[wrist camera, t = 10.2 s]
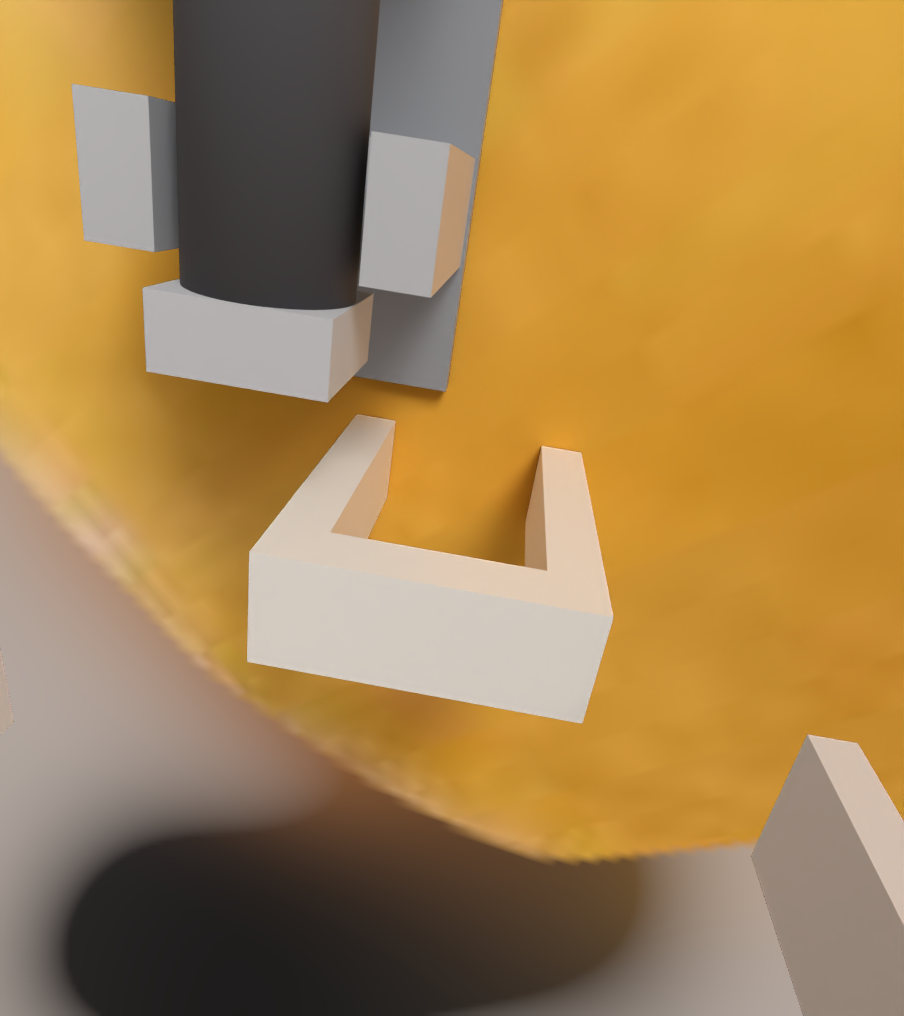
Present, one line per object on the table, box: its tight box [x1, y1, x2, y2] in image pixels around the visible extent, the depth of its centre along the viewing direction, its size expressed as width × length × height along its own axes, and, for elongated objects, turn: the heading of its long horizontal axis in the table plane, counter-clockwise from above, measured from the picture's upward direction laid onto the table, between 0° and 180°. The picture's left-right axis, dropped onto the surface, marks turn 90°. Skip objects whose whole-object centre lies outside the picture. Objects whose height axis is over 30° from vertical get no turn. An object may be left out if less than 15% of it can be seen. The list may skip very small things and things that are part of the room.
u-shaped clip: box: [247, 414, 613, 724], centre depth 20 cm, size 3×8×10 cm, turn 82°
